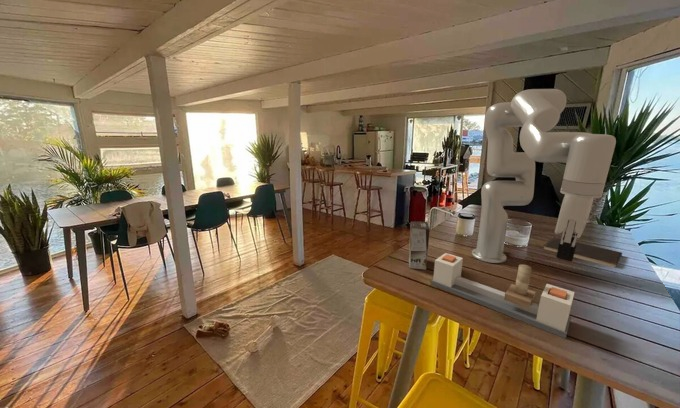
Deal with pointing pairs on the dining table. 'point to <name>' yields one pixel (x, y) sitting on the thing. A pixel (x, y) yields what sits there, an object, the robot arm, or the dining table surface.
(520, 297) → the carriage
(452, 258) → the block
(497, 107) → the robot arm
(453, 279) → the rail base
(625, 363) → the dining table surface
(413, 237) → the coffee box
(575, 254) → the hardcover book
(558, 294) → the block
